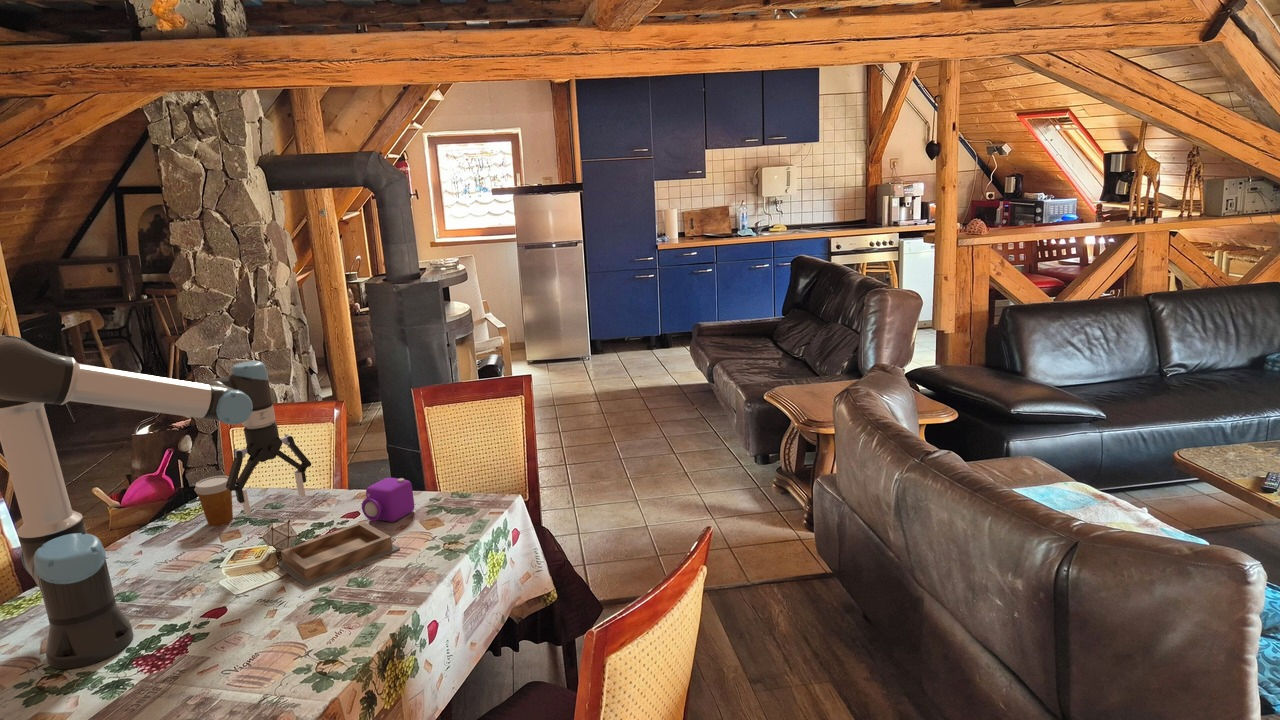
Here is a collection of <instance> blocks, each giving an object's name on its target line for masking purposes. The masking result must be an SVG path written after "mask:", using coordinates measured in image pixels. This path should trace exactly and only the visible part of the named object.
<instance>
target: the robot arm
mask: <svg viewBox="0 0 1280 720" xmlns="http://www.w3.org/2000/svg"><path fill="white" fill-rule="evenodd" d="M68 402H74V403H75V402H76V403H82V404H83V403H84V404H92V405H99V406H106V407H114V408H120V409H121V408H122V409H130V410H137V411H145V412H151V413H158V414H166V415H168V414H169V415H172V416H173V415H175V416H181V417H182V416H183V417H188V418H197V419H204V420H211V421H216V422H217V421H218V422H221V423H222V424H226V425H231V426H233V425H234V426H236V425H240V424H242V426H243V427H244V428H243V432H244V433H243V434H244V438H245V442H246V443H245V444H246V446H245V448H241V449H238V448H234V449H233V461H232V464H231V468H230V471H229V473H228V480H227V484H226V488H227V489H228V490H230V491H232V492H234V491H235V497H236V500H237V502H238V503H239V504H242V509H243V513H244V514H245V515H246V516H251V515H252V511H251V506H250V502H249V496H248V492H247V489H246V488H244V487H245V485H246V484H247V482H248V481H249V478H250V477H251V475H252V474H253V472H254V470H255V468H256V467H257V466H258V464H259V463H264V462H267V461H268V460H274V459H276V457H279V458H280V459H282V461H285V462H286V463H287V464H289V465H291V466H292V467H294V468H295V469H296V470H294V471H293V473H294V477H295V483H296V488H297V494H298V496H300V497H302V498H304V497H307V496H306V491H305V487H304V484H305V483H306V482H307V477H306V476H307V475H306V471H307V469H308V468H309V467H311V466H312V462H311V461H310V460H309V459H308V458H307V456H306V455H305V454H304V452H302V450H301V449H300V448H299V446H297V445H296V443H295V440H294V439H295V438H294V437H293V436H292V435H289V434H285V435H284V436H283V437H281V438H280V434H279V429H278V424H277V422H276V414H275V413H276V412H275V409H274V404H273V398H272V392H271V387H270V379H269V376H268V371H267V369H266V365H265V363H264V362H262V361H259V360H249V361H243V362H239V363H236V364H234V365H232V367H231V374H228V375H227V376H223V377H218V378H214V379H213V378H212V379H208V380H204V381H201V382H200V381H199V382H194V381H193V382H192V381H188V380H180V379H175V378H169V377H163V376H156V375H151V374H145V373H140V372H139V373H138V372H132V371H127V370H121V369H120V370H119V369H115V368H108V367H101V366H95V365H90V364H85V363H78V361H76V359H75V357H71V356H66V355H62V354H61V355H60V354H57V353H53V352H51V351H50V352H49V351H47V350H44V349H42V348H39V347H37V346H35V345H34V344H31V343H30V342H28V341H27V340H26V339H24V338H22V337H19V336H15V335H9V334H5V335H4V334H3V335H1V334H0V446H1V448H2V451H3V456H4V458H5V459H4V460H5V462H6V466H7V470H8V473H9V477H10V481H11V483H12V486H13V491H14V494H15V498H16V500H17V504H18V505H17V506H18V508H19V511H20V515H21V519H22V522H23V523H22V525H21V526H20V527H19V528H18V530H17V533H16V534H17V538H18V542H19V544H20V548H21V552H20V554H21V562H22V565H23V567H24V568H25V571H26V572H27V574H29V575H30V576H31V577H32V579H33V581H35V583H36V584H37V586H38V588H39V590H40V593H41V595H42V600H43V603H44V607H45V611H46V616H47V619H48V623H49V627H48V635H47V640H46V641H47V643H46V648H45V655H46V659H47V663H48V665H49V666H50V667H52V668H54V669H58V670H59V669H60V670H69V669H70V670H71V669H78V668H83V667H87V666H90V665H93V664H96V663H99V662H101V661H104V660H107V659H108V658H110V657H112V656H115V655H117V654H118V653H120V652H121V651H122V650H124V649H125V648H126V647H127V646H128V645H130V644H131V643H132V641H133V640H134V636H135V635H134V631H133V627H132V626H133V625H132V624H131V622H130V621H129V620H128V618H127V617H126V616H125V613H124V612H123V611H122V610H121V609H120V607H119V606H118V605H117V601H116V598H115V597H116V596H115V592H114V589H113V585H112V580H111V576H110V571H109V567H108V563H107V559H106V558H107V557H106V550H105V548H104V546H103V544H102V542H101V541H102V540H101V539H99V538H98V537H97V536H96V535H93V534H91V533H88V532H87V529H86V528H87V527H86V524H85V520H84V518H83V514H82V513H80V512H78V511H76V510H73V508H72V506H71V502H70V499H69V494H68V491H67V487H66V483H65V479H64V476H63V471H62V468H61V464H60V461H59V457H58V453H57V449H56V446H55V441H54V439H53V435H52V431H51V430H52V429H51V428H50V424H49V420H48V416H47V413H46V408H45V404H51V405H60V406H62V405H65V404H66V403H68ZM283 444H284V445H285V446H287V447H289V448H290V450H291V451H292V452H293V454H294V455H295V456H296V457H297V458H298V460H299V461H300V462H301V463H299V462H297V461H296V460H294V459H293V458H291V457H290V456H289V455H287V454H286V453H284V452H282V451H281V447H282V445H283ZM246 454H247V455H249V457H248V459H247V461H246V464H245V466H244V467H243V469H242V471H241V468H242V465H243V459H245V457H246Z"/></svg>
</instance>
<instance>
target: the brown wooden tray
mask: <svg viewBox="0 0 1280 720" xmlns="http://www.w3.org/2000/svg"><path fill="white" fill-rule="evenodd" d="M392 542H393V541H392V536H390V535H389V534H387V533H385V532H383V531H382V530H379V529H378V528H376V527H375V526H373V525H371V524H369V523H367V522H365V521H360V522H357V523H354V524H352V525H349V526H346V527H344V528H340V529H337V530H335V531H332V532H329V533H327V534H324V535H321V536H317V537H315V538H313V539H310V540H307V541H304V542H302V543H299V544H297V545H293V546H291V547H290V548H287V549H284V550H281V551H280V553H281V554H280V555H281V560H283V563H284V564H286V565H287V566H288V567H290V568H291V569H292V570H294V571H295V572H296V573H298V574H299V575H300V576H302V577H303V578H304V579H306V580H307V581H310V580H313V579H315V578H318V577H320V576H323V575H325V574H328V573H331V572H333V571H336V570H338V569H341V568H343V567H346V566H348V565H351V564H354V563H356V562H359V561H361V560H364V559H366V558H369V557H371V556H374V555H377V554H379V553H382V552H384V551H387V550H389V549H392V548H393V547H392V544H393V543H392Z"/></svg>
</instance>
